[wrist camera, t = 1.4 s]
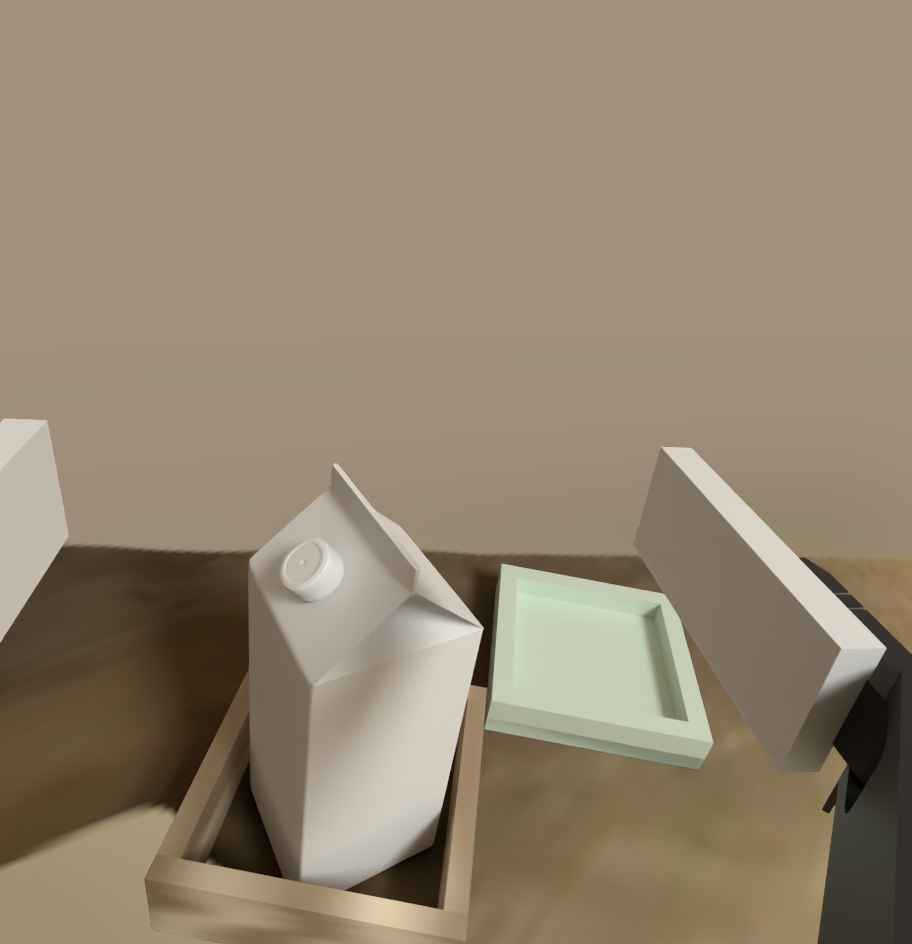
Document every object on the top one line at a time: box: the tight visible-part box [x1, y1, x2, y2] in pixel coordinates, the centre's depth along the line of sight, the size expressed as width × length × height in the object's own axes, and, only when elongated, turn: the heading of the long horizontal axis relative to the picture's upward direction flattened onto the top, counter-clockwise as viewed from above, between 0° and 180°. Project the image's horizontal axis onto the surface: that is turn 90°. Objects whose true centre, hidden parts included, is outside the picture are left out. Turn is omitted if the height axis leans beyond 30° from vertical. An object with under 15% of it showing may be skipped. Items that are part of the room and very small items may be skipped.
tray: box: [484, 564, 713, 770], centre depth 45 cm, size 13×13×2 cm
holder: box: [145, 669, 487, 944], centre depth 33 cm, size 13×13×4 cm
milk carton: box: [248, 464, 484, 891], centre depth 29 cm, size 7×7×19 cm
